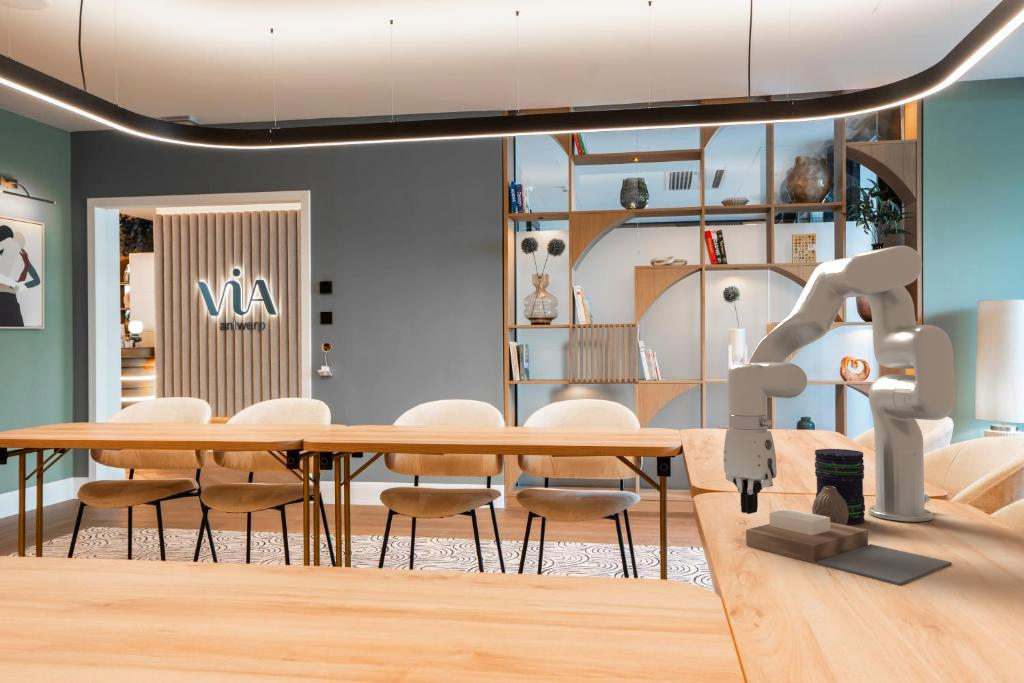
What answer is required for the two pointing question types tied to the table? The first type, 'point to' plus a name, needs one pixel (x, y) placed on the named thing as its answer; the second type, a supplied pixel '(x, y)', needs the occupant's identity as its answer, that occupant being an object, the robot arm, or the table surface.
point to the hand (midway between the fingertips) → (749, 512)
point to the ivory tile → (799, 521)
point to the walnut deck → (807, 541)
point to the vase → (831, 505)
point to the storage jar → (843, 478)
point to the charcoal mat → (885, 564)
